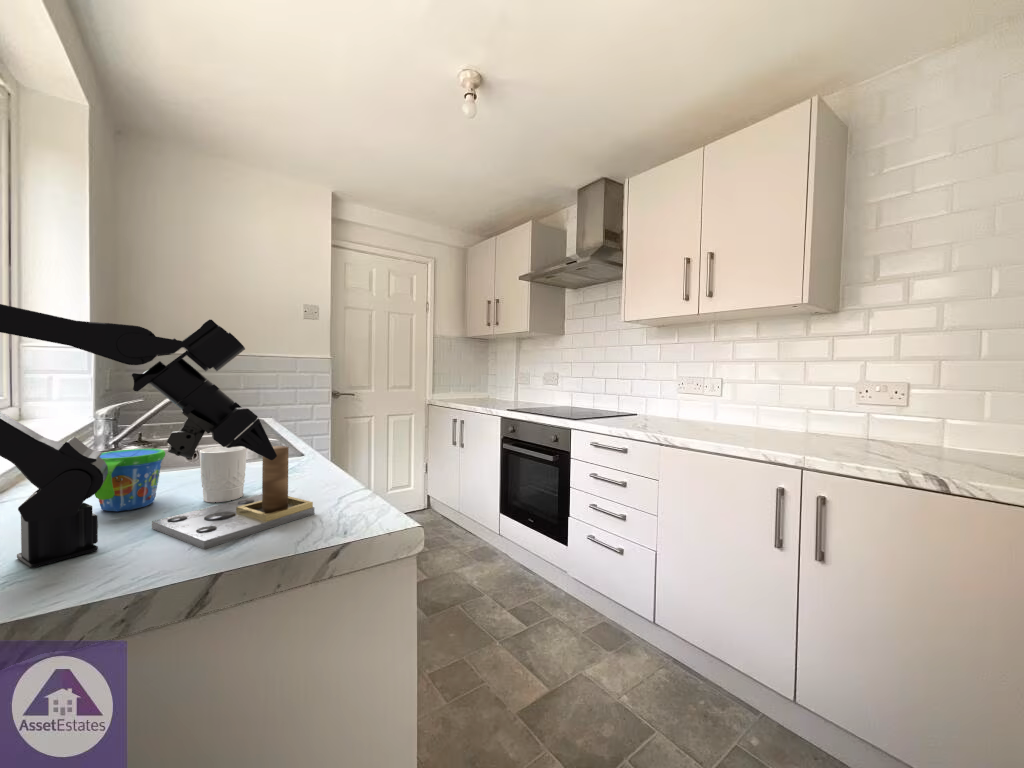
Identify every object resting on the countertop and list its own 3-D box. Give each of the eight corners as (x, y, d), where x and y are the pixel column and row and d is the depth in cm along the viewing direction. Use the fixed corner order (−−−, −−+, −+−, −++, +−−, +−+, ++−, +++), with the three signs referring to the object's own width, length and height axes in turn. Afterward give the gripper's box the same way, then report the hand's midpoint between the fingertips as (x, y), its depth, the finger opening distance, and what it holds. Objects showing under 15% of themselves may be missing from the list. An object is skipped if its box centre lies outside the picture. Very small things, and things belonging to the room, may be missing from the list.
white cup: (255, 493, 90) (255, 446, 89) (226, 504, 82) (226, 453, 81) (220, 491, 90) (220, 444, 90) (189, 502, 83) (189, 451, 82)
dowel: (264, 514, 72) (264, 450, 72) (260, 508, 76) (261, 447, 75) (290, 510, 75) (290, 448, 75) (285, 504, 78) (286, 445, 78)
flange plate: (204, 549, 61) (204, 534, 61) (151, 528, 69) (151, 515, 69) (314, 513, 77) (314, 501, 77) (262, 500, 85) (262, 489, 85)
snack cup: (124, 495, 86) (124, 446, 86) (183, 493, 89) (183, 445, 88) (60, 522, 71) (59, 462, 71) (133, 519, 73) (132, 460, 73)
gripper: (147, 424, 71) (225, 480, 78) (140, 436, 57) (237, 504, 64) (205, 378, 76) (274, 435, 83) (212, 378, 62) (295, 447, 69)
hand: (269, 454), depth 75 cm, fingers open, 9 cm apart
